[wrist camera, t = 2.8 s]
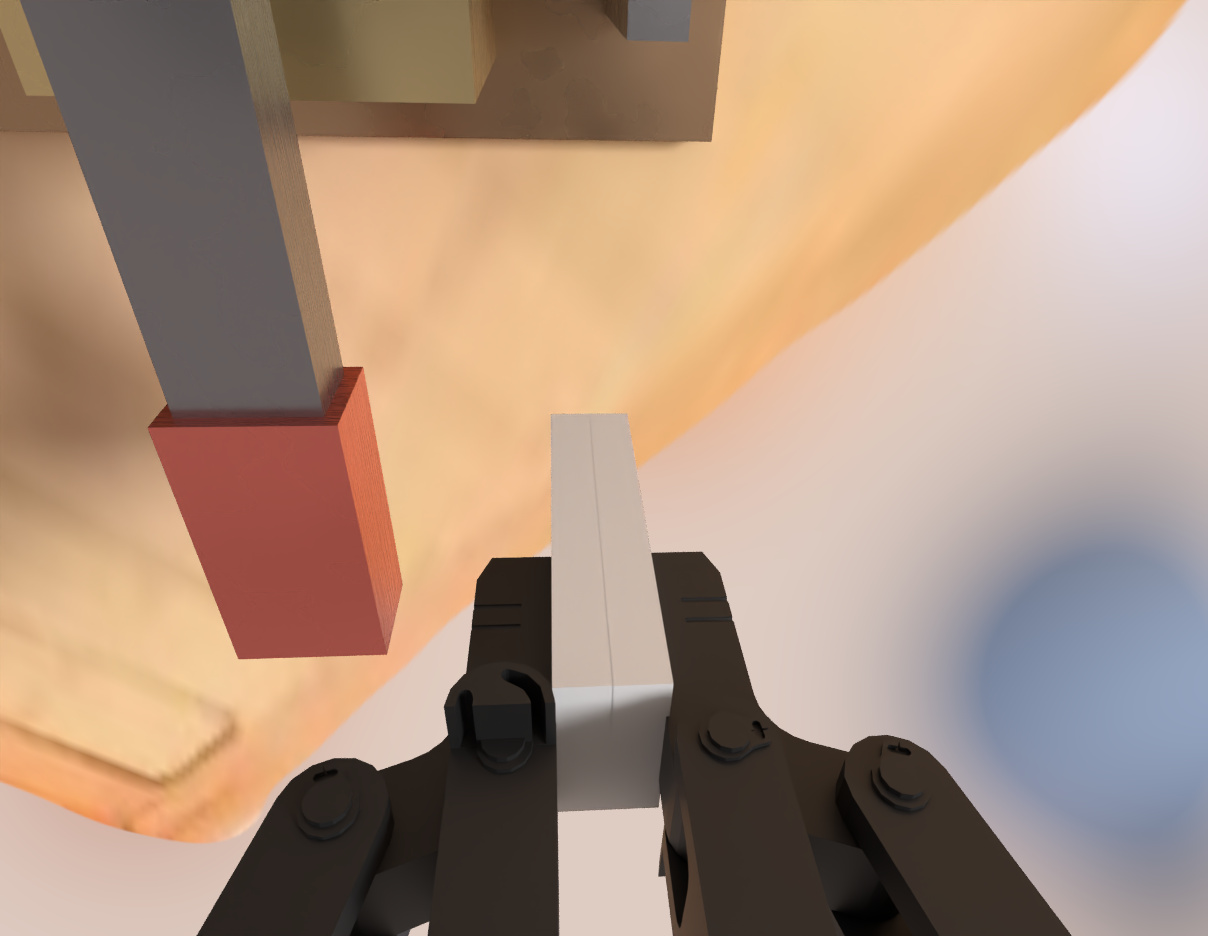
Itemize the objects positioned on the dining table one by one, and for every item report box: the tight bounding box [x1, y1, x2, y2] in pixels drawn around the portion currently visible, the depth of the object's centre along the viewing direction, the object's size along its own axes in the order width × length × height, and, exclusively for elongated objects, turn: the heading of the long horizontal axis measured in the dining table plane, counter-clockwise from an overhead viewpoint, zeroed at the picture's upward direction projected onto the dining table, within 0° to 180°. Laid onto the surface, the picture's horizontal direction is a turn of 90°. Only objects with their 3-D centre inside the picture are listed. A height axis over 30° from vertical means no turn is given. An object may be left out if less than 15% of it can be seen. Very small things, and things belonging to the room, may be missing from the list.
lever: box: [20, 0, 403, 659], centre depth 12 cm, size 16×4×2 cm, turn 178°
